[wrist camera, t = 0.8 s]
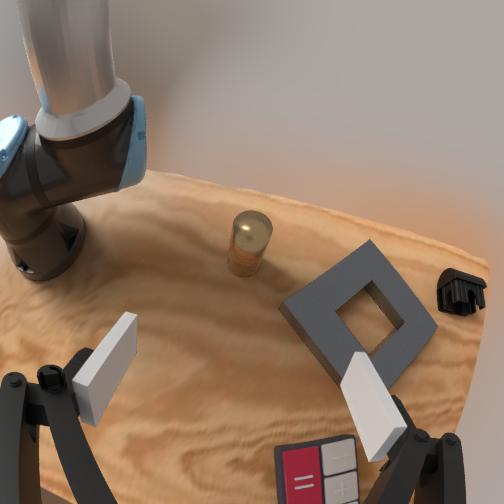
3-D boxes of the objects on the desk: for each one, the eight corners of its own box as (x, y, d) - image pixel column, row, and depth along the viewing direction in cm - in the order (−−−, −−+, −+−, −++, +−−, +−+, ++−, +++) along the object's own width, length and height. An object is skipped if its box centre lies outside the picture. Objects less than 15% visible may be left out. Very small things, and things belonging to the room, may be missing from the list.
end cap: (464, 286, 51) (485, 273, 45) (467, 317, 47) (490, 305, 42) (433, 277, 51) (454, 262, 45) (436, 310, 47) (459, 297, 41)
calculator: (357, 434, 32) (363, 522, 24) (344, 433, 36) (349, 516, 28) (279, 448, 30) (286, 542, 23) (272, 445, 34) (279, 532, 26)
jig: (278, 308, 43) (283, 301, 41) (362, 247, 51) (369, 239, 48) (357, 410, 37) (367, 410, 34) (427, 331, 45) (438, 326, 42)
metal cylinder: (220, 257, 46) (225, 220, 37) (246, 243, 48) (257, 204, 39) (239, 282, 44) (248, 250, 36) (265, 266, 46) (280, 232, 38)
